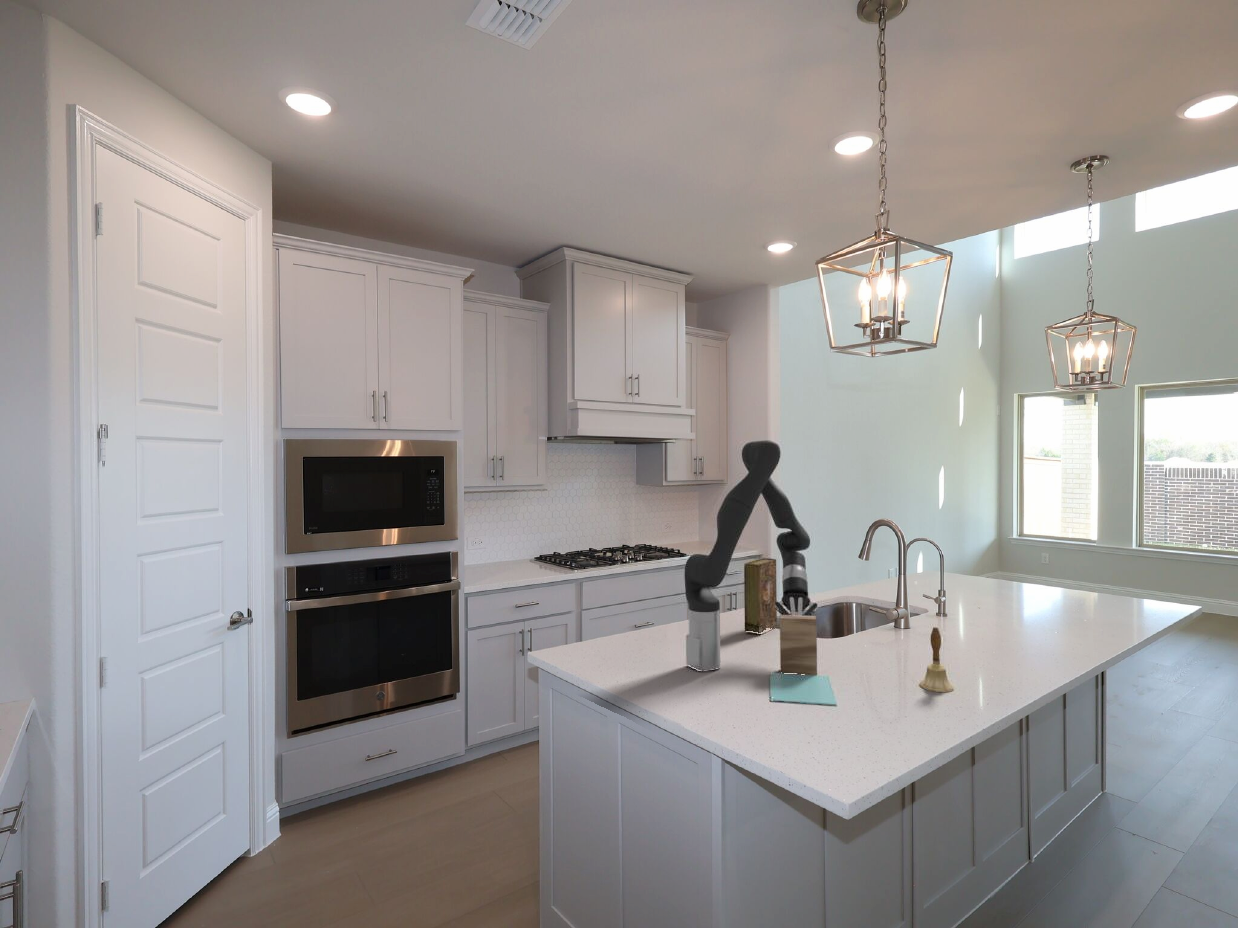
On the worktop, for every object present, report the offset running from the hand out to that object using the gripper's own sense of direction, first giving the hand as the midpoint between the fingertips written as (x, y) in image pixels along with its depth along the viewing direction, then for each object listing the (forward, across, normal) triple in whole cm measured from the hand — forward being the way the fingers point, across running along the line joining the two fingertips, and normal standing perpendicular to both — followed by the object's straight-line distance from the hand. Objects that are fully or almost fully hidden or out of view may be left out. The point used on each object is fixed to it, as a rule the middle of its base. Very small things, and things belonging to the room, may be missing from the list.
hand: (797, 631), depth 191 cm
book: (-23, -10, +39) cm, 47 cm away
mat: (+20, 0, -5) cm, 21 cm away
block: (+10, 0, +5) cm, 11 cm away
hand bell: (+14, +35, +1) cm, 38 cm away
